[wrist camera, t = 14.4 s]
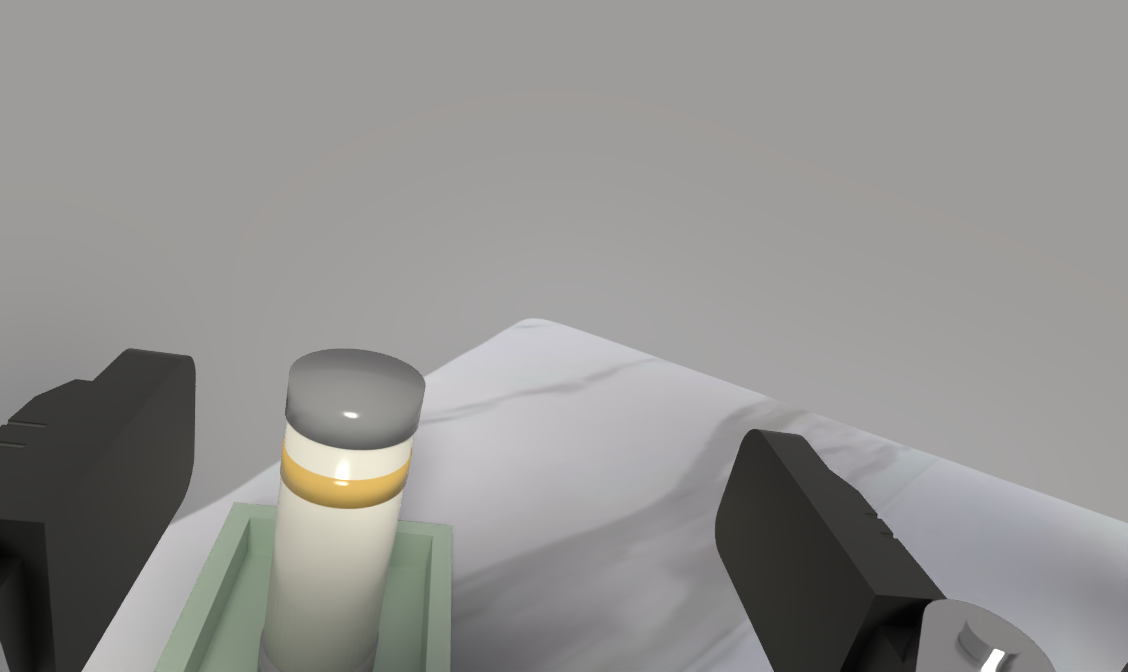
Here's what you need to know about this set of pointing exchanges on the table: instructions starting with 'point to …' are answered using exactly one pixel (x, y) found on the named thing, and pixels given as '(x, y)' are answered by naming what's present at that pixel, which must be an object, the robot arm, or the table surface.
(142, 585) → the table surface
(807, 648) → the robot arm
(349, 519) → the cylinder
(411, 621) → the tray
